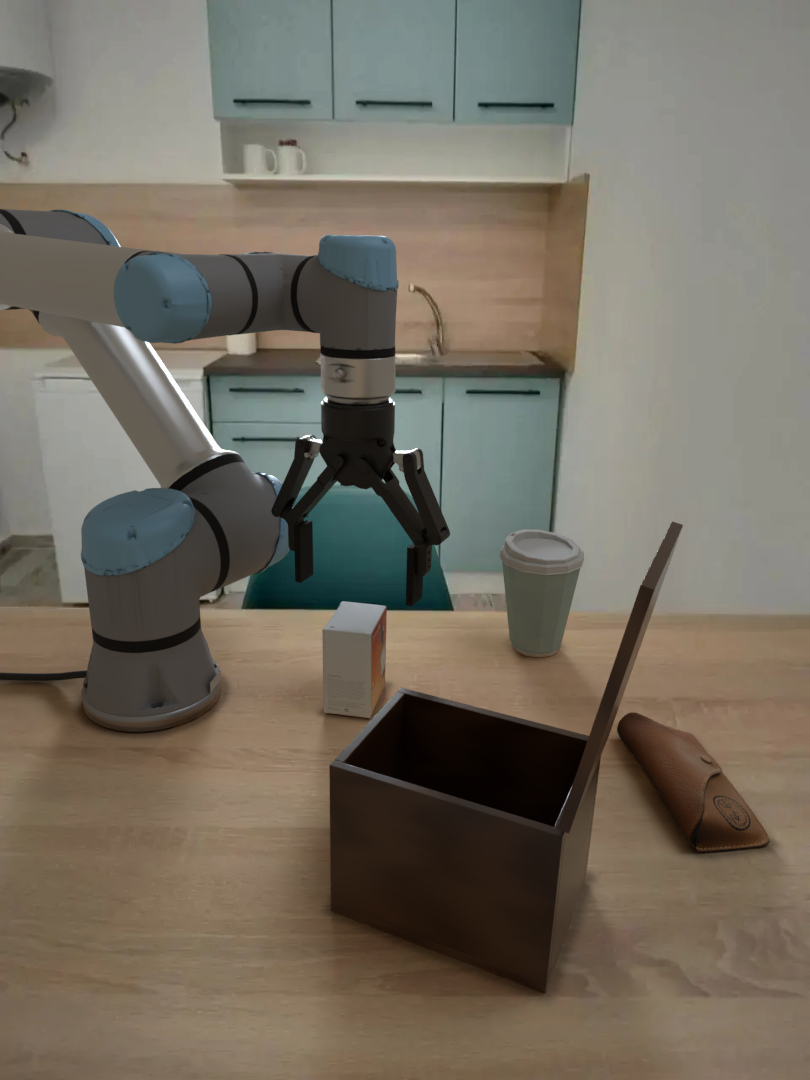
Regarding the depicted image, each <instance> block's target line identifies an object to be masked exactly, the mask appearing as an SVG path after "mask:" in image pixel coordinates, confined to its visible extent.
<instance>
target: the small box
mask: <svg viewBox="0 0 810 1080" xmlns="http://www.w3.org/2000/svg"><path fill="white" fill-rule="evenodd" d="M387 607H388V606H386V605H381V604H372V603H364V602H353V601H346V600H345V601H344V600H343V601H341V602H340V603H339V605H338V607H337V609H336V610H335V612H334V613H333V615H332V616H331V618H330V619H329V620H328V622H327V624H326V625H324V627H323V628H322V633H321V634H322V693H323V694H322V696H323V702H322V703H323V713H325V714H332V715H341V716H348V717H349V716H351V717H357V718H365V719H371V718H372V716H373V713H374V710H375V708H376V706H377V704H378V701H379V700H380V697H381V695H382V693H383V691H384V689H385V686H386V662H387V661H386V659H387V616H388V615H387V612H388V611H387V609H388V608H387Z"/></svg>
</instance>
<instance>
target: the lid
mask: <svg viewBox="0 0 810 1080" xmlns="http://www.w3.org/2000/svg"><path fill="white" fill-rule="evenodd" d="M683 527H684V525H683V524H682V523H679V522H676V521H671V522H670V524H669V527H667V528H668V529H667V530H666V532H665V534H664V536H663V538H662V541H661V542H660V545H659V546H658V549H657V550H656V552H655V555H654V557H653V559H652V560H651V563H650V565H649V567H648V569H647V571H646V573H645V575H644V577H643V579H642V581H641V584H640V586H639V588H638V591H637V593H636V597H635V600H634V603H633V606H632V608H631V612H630V615H629V618H628V621H627V624H626V626H625V630H624V633H623V635H622V639H621V641H620V644H619V647H618V650H617V652H616V656H615V660H614V661H613V665H612V667H611V671H610V674H609V677H608V680H607V682H606V685H605V688H604V692H603V694H602V697H601V700H600V703H599V706H598V709H597V712H596V714H595V718H594V721H593V722H592V723H593V724H592V726H591V729H590V732H589V735H588V736H589V738H588V741H587V744H586V747H585V750H584V753H583V756H582V759H581V761H580V764H579V767H578V770H577V773H576V776H575V779H574V782H573V785H572V788H571V791H570V794H569V797H568V800H567V803H566V806H565V808H564V811H563V814H562V817H561V820H560V823H559V826H558V829H559V830H562V831H564V832H566V833H568V834H569V833H570V831H571V828H572V826H573V823H574V821H575V818H576V816H577V813H578V811H579V808H580V806H581V804H582V801H583V799H584V796H585V794H586V791H587V789H588V786H589V784H590V781H591V779H592V776H593V774H594V771H595V769H596V766H597V764H598V762H599V759H600V757H601V758H602V754H603V752H604V749H605V747H606V744H607V742H608V739H609V737H610V734H611V732H612V729H613V726H614V723H615V719H616V717H617V714H618V711H619V708H620V705H621V704H622V700H623V697H624V694H625V692H626V688H627V686H628V683H629V680H630V677H631V674H632V673H633V672H632V671H633V669H634V666H635V663H636V660H637V658H638V655H639V651H640V648H641V646H642V644H643V640H644V637H645V635H646V632H647V630H648V626H649V624H650V620H651V618H652V615H653V612H654V609H655V606H656V603H657V601H658V598H659V595H660V592H661V589H662V587H663V584H664V581H665V578H666V575H667V572H668V571H669V570H668V569H669V566H670V564H671V561H672V559H673V555H674V552H675V550H676V547H677V544H678V541H679V538H680V536H681V532H682V530H683Z"/></svg>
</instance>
